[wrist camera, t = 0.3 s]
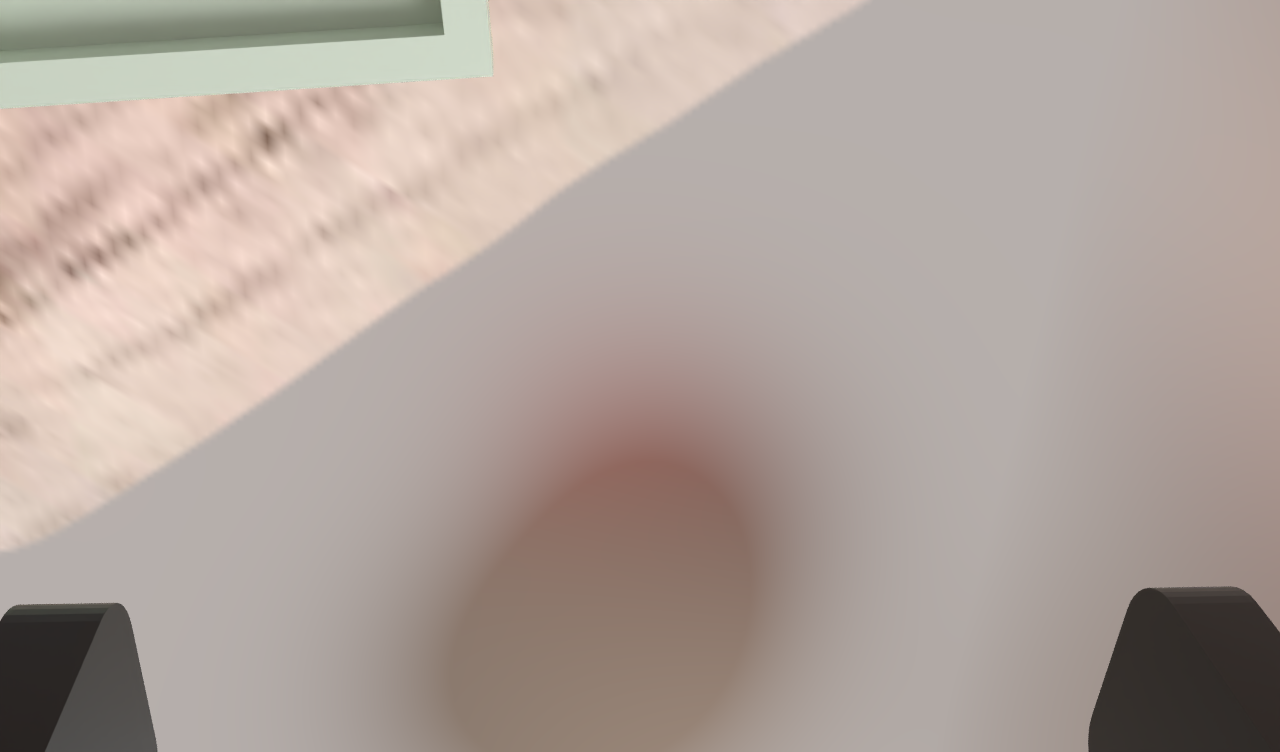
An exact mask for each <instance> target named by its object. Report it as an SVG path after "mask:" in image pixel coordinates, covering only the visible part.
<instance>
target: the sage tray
mask: <svg viewBox="0 0 1280 752" xmlns="http://www.w3.org/2000/svg"><path fill="white" fill-rule="evenodd" d="M490 76H493V47H492V37H491V26H490V16H489V5H488V0H0V109H5V108H20V107H35V106H50V105H66V104H81V103H96V102H111V101H126V100H141V99H157V98H172V97H187V96H202V95H217V94H232V93H248V92H263V91H278V90H293V89H308V88H324V87H339V86H354V85H369V84H384V83H399V82H415V81H430V80H445V79H460V78H475V77H490Z"/></svg>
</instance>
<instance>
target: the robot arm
mask: <svg viewBox="0 0 1280 752" xmlns="http://www.w3.org/2000/svg"><path fill="white" fill-rule="evenodd" d="M1088 739H1089V740H1088V746H1089V752H1280V632H1279V631H1278V630H1277V628H1276V627H1275V626H1274V624H1273V623H1272V622H1271V621H1270V619H1269V618H1268V617H1267V615H1266V614H1265V613H1264V612H1263V610H1262V609H1261V608H1260V606H1259V605H1258V604H1257V602H1256V601H1255V600H1254V599H1253V598H1252V597H1251V596H1250V595H1249V594H1248V593H1246V592H1245V591H1244V590H1242V589H1239V588H1237V587H1182V588H1181V587H1177V588H1147V589H1143V590H1141V591H1139V592H1138V593H1137V594H1136V595H1135V596H1134V597H1133V599H1132V600H1131V602H1130V604H1129V607H1128V609H1127V612H1126V615H1125V618H1124V621H1123V624H1122V627H1121V630H1120V633H1119V636H1118V639H1117V642H1116V645H1115V648H1114V651H1113V654H1112V657H1111V660H1110V663H1109V666H1108V669H1107V672H1106V675H1105V678H1104V681H1103V684H1102V687H1101V690H1100V693H1099V696H1098V699H1097V702H1096V705H1095V708H1094V711H1093V714H1092V718H1091V722H1090V727H1089V738H1088ZM0 752H157V744H156V738H155V733H154V729H153V724H152V719H151V715H150V710H149V705H148V700H147V696H146V691H145V686H144V681H143V677H142V672H141V667H140V663H139V658H138V653H137V648H136V644H135V639H134V634H133V630H132V625H131V621H130V618H129V615H128V613H127V611H126V609H125V608H124V606H122V605H121V604H119V603H94V604H93V603H91V604H90V603H89V604H35V605H34V604H33V605H16V606H13V607H12V608H10V609H9V610H8V611H7V612H6V613H5V614H4V616H3V617H2V619H1V621H0Z"/></svg>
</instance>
